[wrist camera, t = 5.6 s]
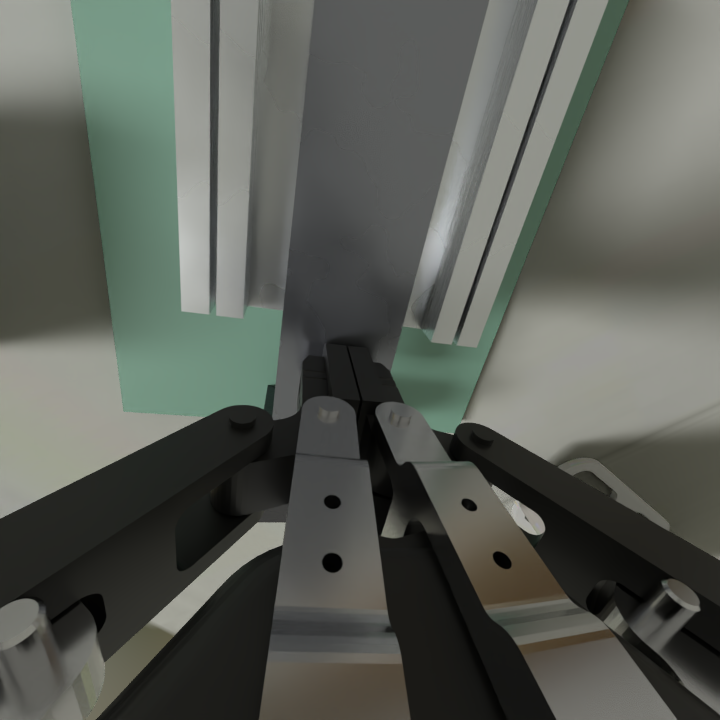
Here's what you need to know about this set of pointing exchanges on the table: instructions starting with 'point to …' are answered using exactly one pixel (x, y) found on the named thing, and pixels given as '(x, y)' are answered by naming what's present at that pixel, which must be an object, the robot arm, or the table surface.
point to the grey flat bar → (369, 171)
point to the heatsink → (282, 143)
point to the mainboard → (161, 237)
